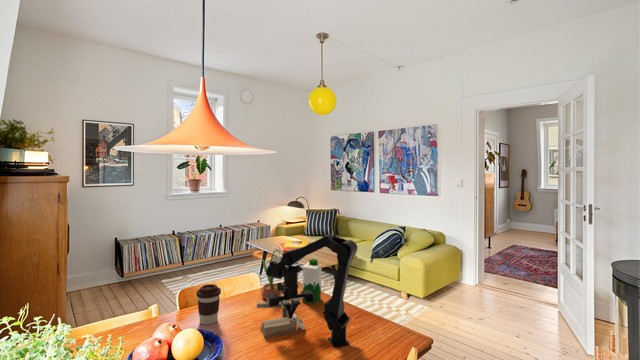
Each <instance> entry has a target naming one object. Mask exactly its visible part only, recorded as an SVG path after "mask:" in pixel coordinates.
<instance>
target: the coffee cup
mask: <svg viewBox="0 0 640 360" xmlns="http://www.w3.org/2000/svg"><path fill="white" fill-rule="evenodd" d="M221 292H222V289H221V287H219V286H217V285H216V284H211V283H209V284H204V285H201V287H200V288H199V289H197V290H196V292H195V293H196V297H197V309H198V314H199V316H198V318H199V323H200V324H201V325H205V326H207V325H212V324H215V323H216V322H217V321H218V320H219V319H218V317H219V309H220V295H221Z"/></svg>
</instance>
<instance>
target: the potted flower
mask: <svg viewBox="0 0 640 360" xmlns="http://www.w3.org/2000/svg"><path fill="white" fill-rule="evenodd" d="M283 253H284V251H283V250H279V249H277V248H275V249H274V250H273V252H272V254H271V257H270V261H277V260H279V261H281V259H282V257H281V256H280V255H283ZM278 254H279V255H278ZM261 261H262V264H263V269H264V273H265V274H266V270H267V268H268V266H267V264H266V261H265V259H264V258H261ZM266 277H267V281H268V282H269V283H266V284H264V285H262V292H261V296H262V298H263V299H266V300H267V296H268V295H270V294H277V296H278V297H279V296H282V292H281V290H280V291H277V288H276V285H277V283H274V278H271V277H268V276H267V274H266Z"/></svg>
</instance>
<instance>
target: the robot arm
mask: <svg viewBox="0 0 640 360" xmlns="http://www.w3.org/2000/svg"><path fill="white" fill-rule="evenodd" d="M324 248H328V250H330V251H331V252H332V253H334V254H336V260H337V269H336V272H335V273H336V274H335V280H334V283H333V288H332V293H331V294H332V295H331V298H329V299H328V300H327V301H326V302H324V309H323V312H322V315H323V318H324V320H325V321H326V324H327V325H326V326H327V327H328V330H329V331H330V333H331V334H330V337H327V341H328V342H329V344H331V346H332V347H333V348H334V349H335V348H336V349H337V348H341V347H345V346H349V345H350V342H349V341H348V340H347V325H348V324H349V322H350V316H349V315H348V314H347V313H346V312H345V302H344V297H345V291H346V287H347V286H346V285H347V282H348V277H349V273H350V267H351V264H352V262H353V260H354V259H355V256H356V254H357V252H358V245H357V243H356V242H355V241H353V240H352V239H346V238H342V237H338V236H335V235H332V234H330V233H329V234H326V235H324V236H322V237H321V238H319V239H317V240H315V241H312V242H311V243H308V244H307V245H305V246H302V247H297V248H292V249H290V250H288V251H286V252H283V254H281V255H282V257H281V258H280V260H279V261H277V260H275V261H273V260H272V261H271V260H270V261H269V264H268V266H267V270H266V272H265V274H267V275H266V277H267V276H268V277H271V278H273V279H278V280H281V279H283V281H282V282H277V283H276V284H277V285H276V288H277V291H280V290H281V296H279V297H278V296H277V294H270V295H268V296H267V299H266V303H268V305H269V306H270V307H272V306H278V304H279V302H281V303H282V305H283V306H284V307H286V310H287V313H288V316H287V317H289V319H291V318H292V316H293V314H294V313H295V312H296V310H297V308H298V307H299V305H301V302H300V301H301V299H303V298H305V300H306V301H307V302H309V301H314V294H313V293H312V292H311V291H310V290H303V289H302V290H301V292H300V293H299V292H298V289H299V283H298V282H299V273H300V272H303V269H302V266H300V264H297V263H298V262H300V261H301V260H303V259H304V258H305V257H307V256H308V255H310V254H313V253H315V252H317V251H319V250H321V249H324ZM295 264H297V265H295Z"/></svg>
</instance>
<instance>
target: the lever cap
mask: <svg viewBox="0 0 640 360" xmlns="http://www.w3.org/2000/svg"><path fill="white" fill-rule="evenodd" d="M293 318H294V319H295V321H296V322H297V325H298V326H299V328H300V329H301V330H302V331H304V330H305V329H306V327H305V325H304V324H303V323H304V322H303V320H302V319H301V318H299V316H298V315H297V314H296V313H295V312H294V314H293Z"/></svg>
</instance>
